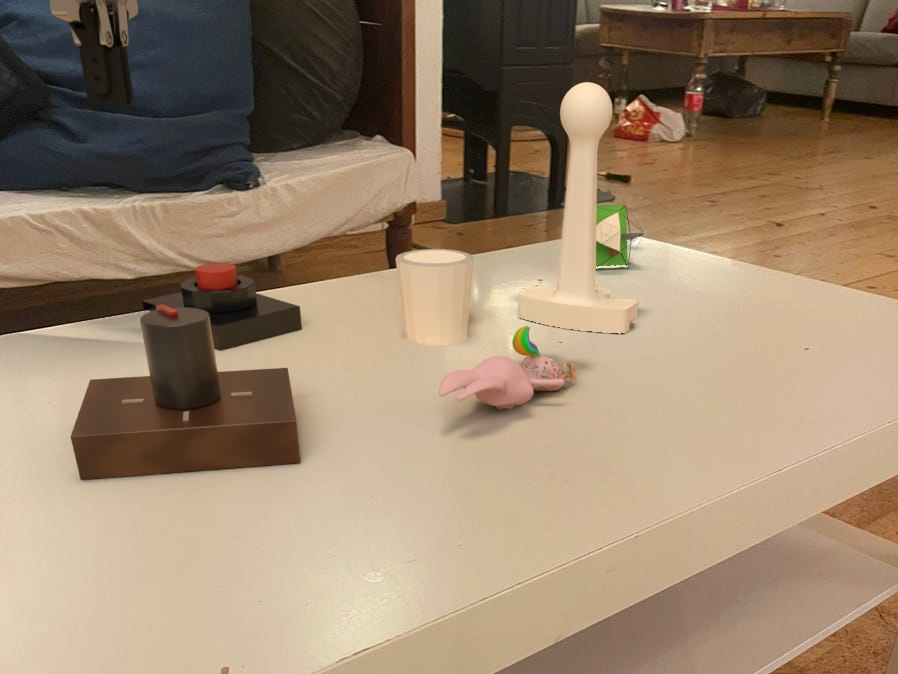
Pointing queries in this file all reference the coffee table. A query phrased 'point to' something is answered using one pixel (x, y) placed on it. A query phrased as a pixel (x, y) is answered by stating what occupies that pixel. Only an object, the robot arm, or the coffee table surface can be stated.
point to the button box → (235, 312)
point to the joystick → (580, 230)
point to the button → (216, 276)
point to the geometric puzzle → (613, 236)
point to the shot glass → (435, 295)
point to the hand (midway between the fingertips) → (111, 103)
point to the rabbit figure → (509, 376)
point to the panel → (185, 427)
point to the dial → (180, 357)
